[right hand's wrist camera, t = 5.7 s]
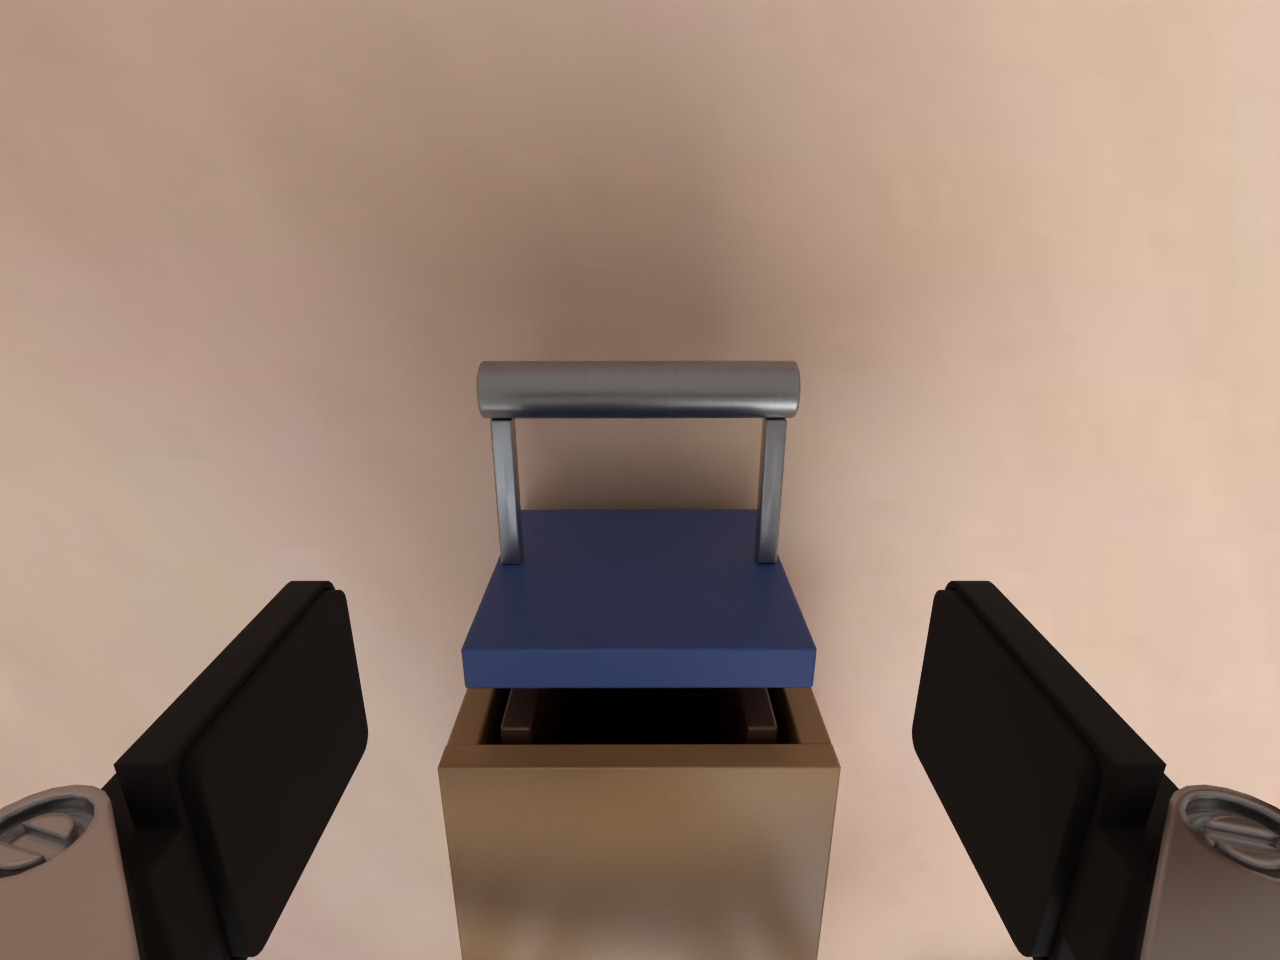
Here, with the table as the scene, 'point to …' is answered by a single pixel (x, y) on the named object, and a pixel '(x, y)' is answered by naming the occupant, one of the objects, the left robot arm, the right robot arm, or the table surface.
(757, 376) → the drawer
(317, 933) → the table surface
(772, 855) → the cabinet
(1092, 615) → the table surface
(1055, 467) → the table surface
